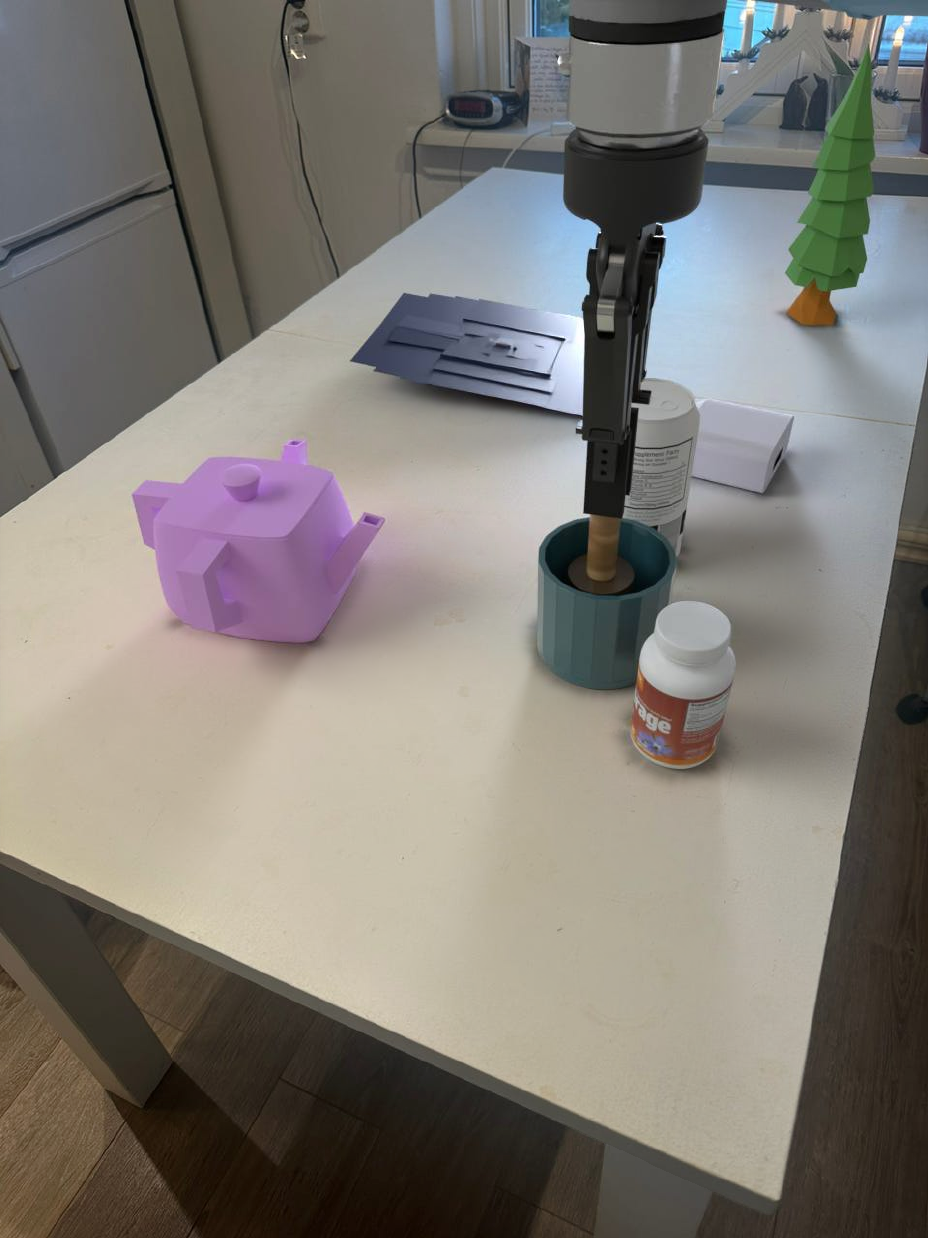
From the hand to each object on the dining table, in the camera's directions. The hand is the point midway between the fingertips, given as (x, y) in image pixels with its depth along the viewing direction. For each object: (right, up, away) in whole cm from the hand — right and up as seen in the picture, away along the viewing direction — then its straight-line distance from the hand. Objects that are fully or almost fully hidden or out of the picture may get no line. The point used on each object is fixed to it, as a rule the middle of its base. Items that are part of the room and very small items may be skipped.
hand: (607, 500), depth 61 cm
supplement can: (+5, -2, +18) cm, 18 cm away
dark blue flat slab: (-6, +23, +47) cm, 52 cm away
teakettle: (-27, -6, +16) cm, 31 cm away
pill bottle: (+5, -17, +1) cm, 18 cm away
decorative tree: (+36, +31, +52) cm, 70 cm away
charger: (+14, +8, +29) cm, 33 cm away
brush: (0, -9, +8) cm, 11 cm away
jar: (+1, -10, +9) cm, 13 cm away
